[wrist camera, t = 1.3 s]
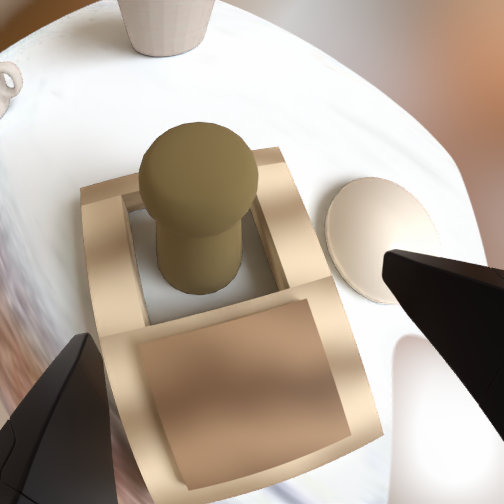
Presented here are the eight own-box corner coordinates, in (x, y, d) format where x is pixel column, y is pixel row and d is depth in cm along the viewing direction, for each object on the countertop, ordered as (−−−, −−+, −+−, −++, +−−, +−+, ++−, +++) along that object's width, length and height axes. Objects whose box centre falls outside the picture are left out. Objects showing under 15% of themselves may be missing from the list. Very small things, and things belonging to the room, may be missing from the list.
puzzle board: (366, 429, 19) (390, 436, 16) (163, 497, 15) (157, 517, 12) (272, 165, 25) (280, 140, 22) (90, 205, 22) (76, 182, 19)
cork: (145, 281, 20) (96, 200, 10) (172, 205, 23) (158, 92, 13) (230, 305, 21) (256, 243, 11) (251, 226, 23) (286, 121, 13)
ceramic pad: (442, 225, 26) (448, 220, 25) (415, 328, 22) (423, 326, 21) (350, 162, 27) (354, 156, 26) (302, 259, 23) (306, 254, 22)
